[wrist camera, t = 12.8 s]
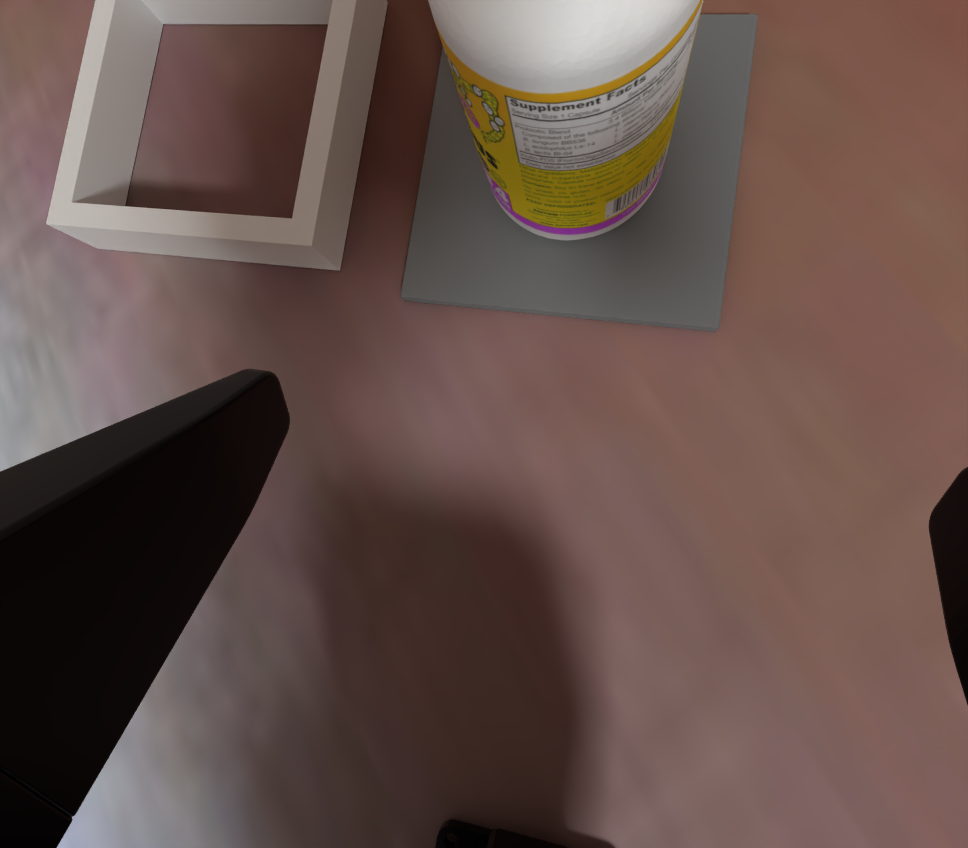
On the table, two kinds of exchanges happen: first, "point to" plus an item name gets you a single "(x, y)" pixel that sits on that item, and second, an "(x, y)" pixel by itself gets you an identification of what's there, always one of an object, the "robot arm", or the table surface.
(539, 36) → the supplement bottle
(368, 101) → the holder
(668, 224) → the mat
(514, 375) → the table surface
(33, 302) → the table surface
